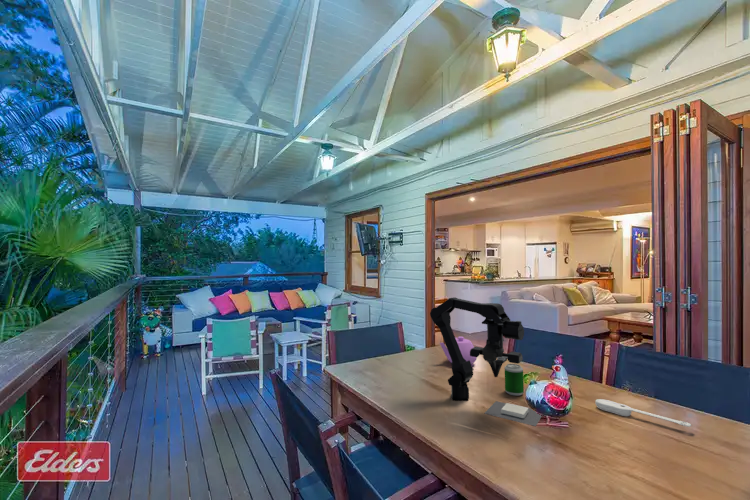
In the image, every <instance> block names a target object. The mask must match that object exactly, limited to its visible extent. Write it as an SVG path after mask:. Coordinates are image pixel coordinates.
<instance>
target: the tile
mask: <svg viewBox="0 0 750 500" xmlns="http://www.w3.org/2000/svg"><path fill="white" fill-rule="evenodd" d="M505 403H506V404H505V406H504V407H503V408H502V409H501V413H503V414H507V415H511V416H515V417H519V418H525V416H526V415H527V413H528V412H529V409H530V407H526V406H522V405H519V404H518V405H517V404H513V403H509V402H505Z"/></svg>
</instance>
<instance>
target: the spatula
mask: <svg viewBox="0 0 750 500" xmlns="http://www.w3.org/2000/svg"><path fill="white" fill-rule="evenodd" d="M594 403H595V406H596V407H597V408H598V409H600V410H601V411H604V412H605V411H606V412H609V413H613V414H616V415H618V416H622V417H630V416H631V415H632V412H635V413H639V414H642V415H647V416H650V417H653V418H658V419H661V420H664V421H668V422H670V423H675V424H678V425H680V426H682V427H692V424H691V423H689V422H686V421H682V420H678V419H673V418H670V417H666V416H662V415H658V414H655V413H650V412H648V411H643V410H640V409H636V408H633V407H630V406H629V405H627V404H624V403H623V404H622V403H620V402H615V401H613V400H608V399H603V398H599V399H595V402H594Z"/></svg>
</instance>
